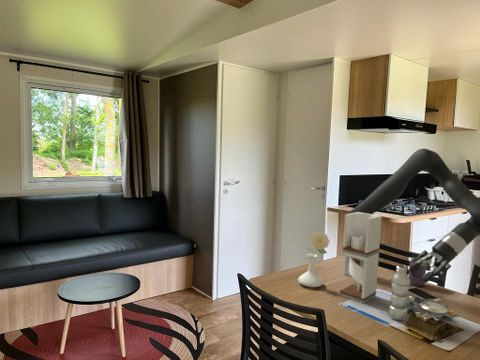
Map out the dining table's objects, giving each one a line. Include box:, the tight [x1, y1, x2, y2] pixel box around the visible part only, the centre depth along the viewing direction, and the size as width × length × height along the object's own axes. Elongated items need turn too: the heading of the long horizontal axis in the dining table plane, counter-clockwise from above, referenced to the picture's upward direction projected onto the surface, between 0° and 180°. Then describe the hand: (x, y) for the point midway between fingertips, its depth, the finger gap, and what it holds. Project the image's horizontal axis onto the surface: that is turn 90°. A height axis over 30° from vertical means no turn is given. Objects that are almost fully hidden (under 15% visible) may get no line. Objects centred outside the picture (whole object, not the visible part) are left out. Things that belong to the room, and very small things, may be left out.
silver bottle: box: [388, 264, 411, 321], centre depth 130 cm, size 6×7×20 cm
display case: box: [339, 212, 383, 304], centre depth 149 cm, size 11×11×35 cm
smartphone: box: [408, 286, 442, 303], centre depth 155 cm, size 8×1×15 cm
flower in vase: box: [297, 231, 331, 288], centre depth 159 cm, size 13×11×25 cm
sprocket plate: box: [407, 295, 455, 322], centre depth 139 cm, size 19×18×4 cm
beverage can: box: [408, 257, 427, 287], centre depth 166 cm, size 7×7×12 cm
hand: (416, 276), depth 130 cm, fingers open, 8 cm apart
